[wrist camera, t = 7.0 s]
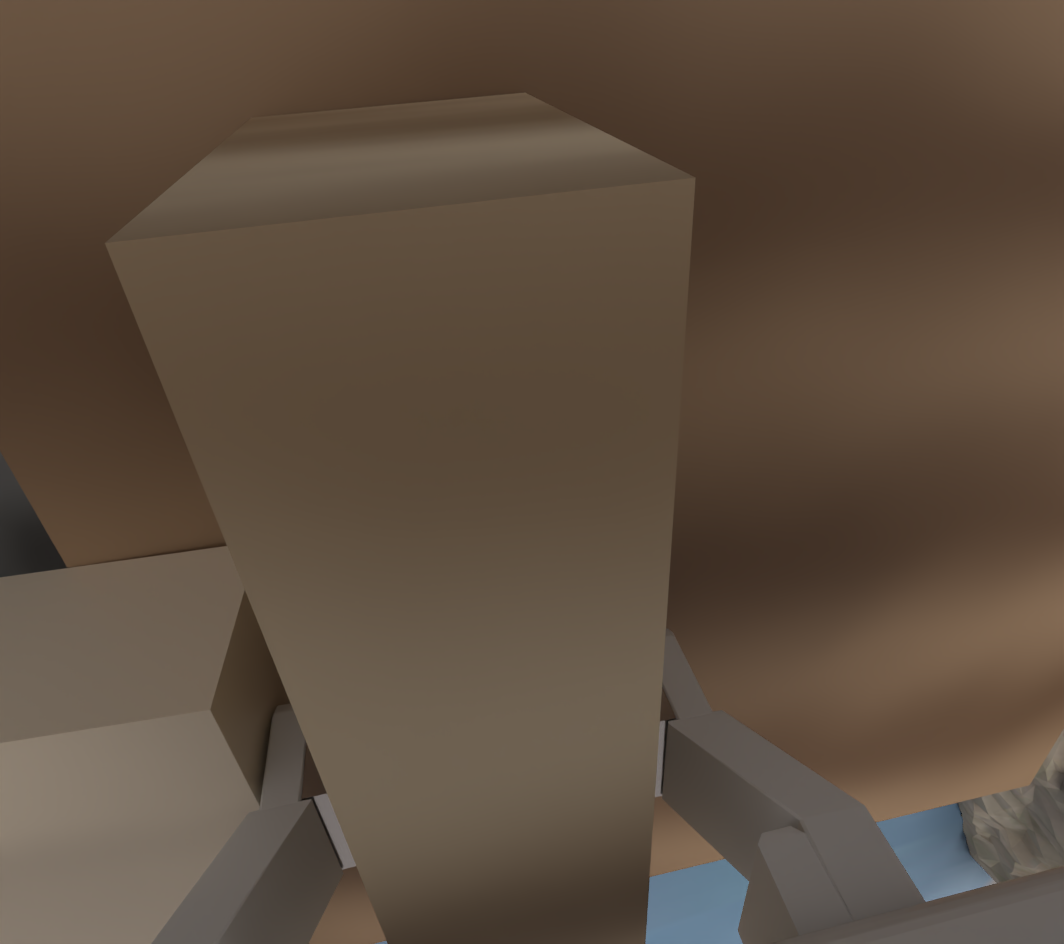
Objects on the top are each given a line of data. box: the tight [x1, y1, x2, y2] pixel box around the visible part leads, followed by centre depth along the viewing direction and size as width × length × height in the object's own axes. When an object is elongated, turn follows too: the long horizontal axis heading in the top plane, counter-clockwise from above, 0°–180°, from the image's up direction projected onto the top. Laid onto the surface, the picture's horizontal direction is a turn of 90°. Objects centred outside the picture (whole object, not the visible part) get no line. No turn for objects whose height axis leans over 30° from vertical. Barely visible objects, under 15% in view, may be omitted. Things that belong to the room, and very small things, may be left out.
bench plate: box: [0, 0, 1064, 944], centre depth 14 cm, size 22×21×4 cm
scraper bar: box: [105, 93, 696, 944], centre depth 10 cm, size 16×3×5 cm, turn 3°
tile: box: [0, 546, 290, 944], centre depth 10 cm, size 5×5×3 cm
